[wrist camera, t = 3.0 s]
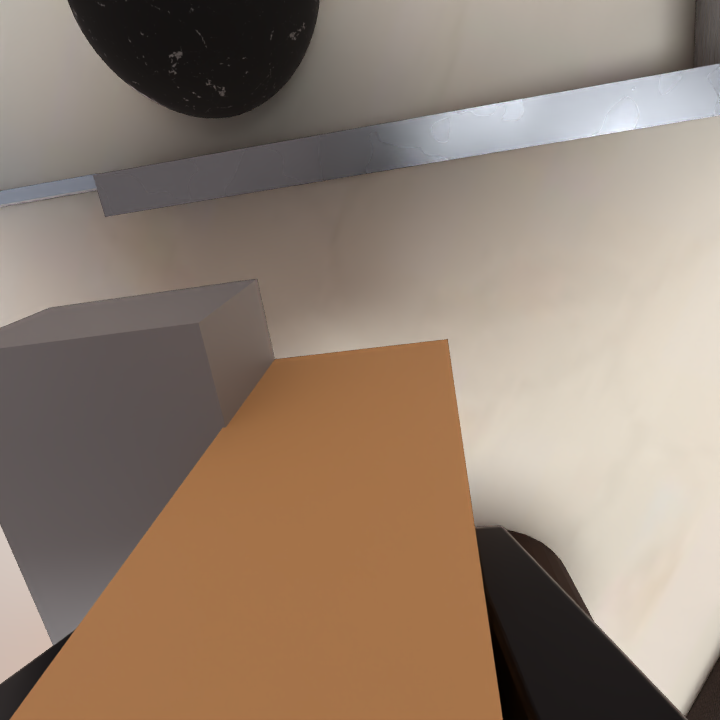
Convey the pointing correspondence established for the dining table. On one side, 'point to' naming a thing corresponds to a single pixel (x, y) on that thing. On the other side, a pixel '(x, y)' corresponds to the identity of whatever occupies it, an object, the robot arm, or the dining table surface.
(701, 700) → the hardcover book
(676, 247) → the dining table surface
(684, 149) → the dining table surface
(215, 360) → the two-tone block
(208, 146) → the dining table surface
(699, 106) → the grey rectangular frame
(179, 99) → the billiard ball
